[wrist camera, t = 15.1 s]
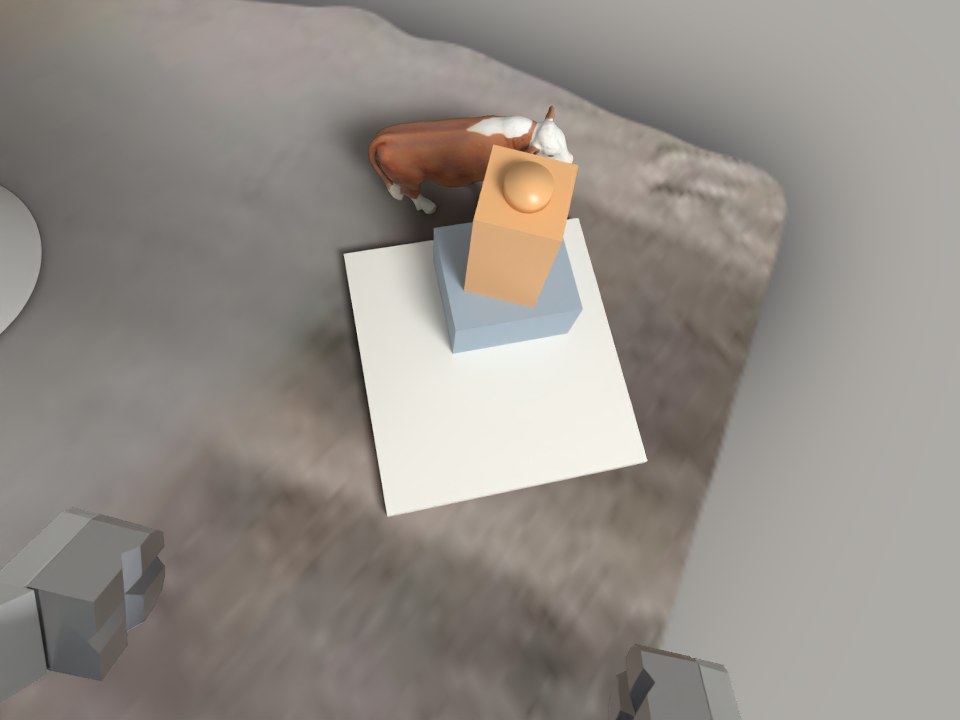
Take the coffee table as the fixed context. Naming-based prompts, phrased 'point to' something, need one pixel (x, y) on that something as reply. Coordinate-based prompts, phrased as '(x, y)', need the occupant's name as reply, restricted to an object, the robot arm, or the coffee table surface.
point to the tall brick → (518, 225)
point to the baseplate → (483, 389)
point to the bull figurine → (456, 151)
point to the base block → (495, 319)
